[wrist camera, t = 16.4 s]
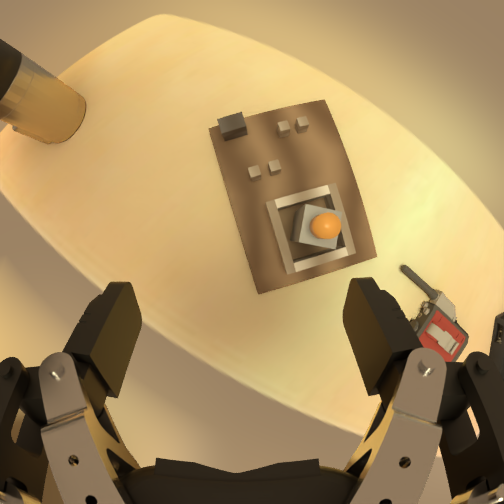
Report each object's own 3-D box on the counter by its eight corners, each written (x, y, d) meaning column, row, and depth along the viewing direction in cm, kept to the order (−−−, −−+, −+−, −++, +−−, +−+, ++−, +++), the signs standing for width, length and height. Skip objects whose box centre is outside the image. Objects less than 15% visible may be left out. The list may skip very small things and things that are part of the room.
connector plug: (289, 240, 33) (303, 243, 22) (295, 211, 33) (311, 199, 22) (318, 246, 33) (344, 251, 22) (323, 217, 33) (352, 209, 22)
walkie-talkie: (469, 324, 35) (402, 259, 35) (485, 331, 30) (417, 262, 30) (442, 367, 35) (367, 311, 35) (455, 377, 31) (380, 320, 31)
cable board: (258, 292, 35) (258, 301, 30) (210, 131, 34) (203, 118, 29) (373, 256, 34) (388, 258, 30) (322, 103, 33) (330, 87, 29)
